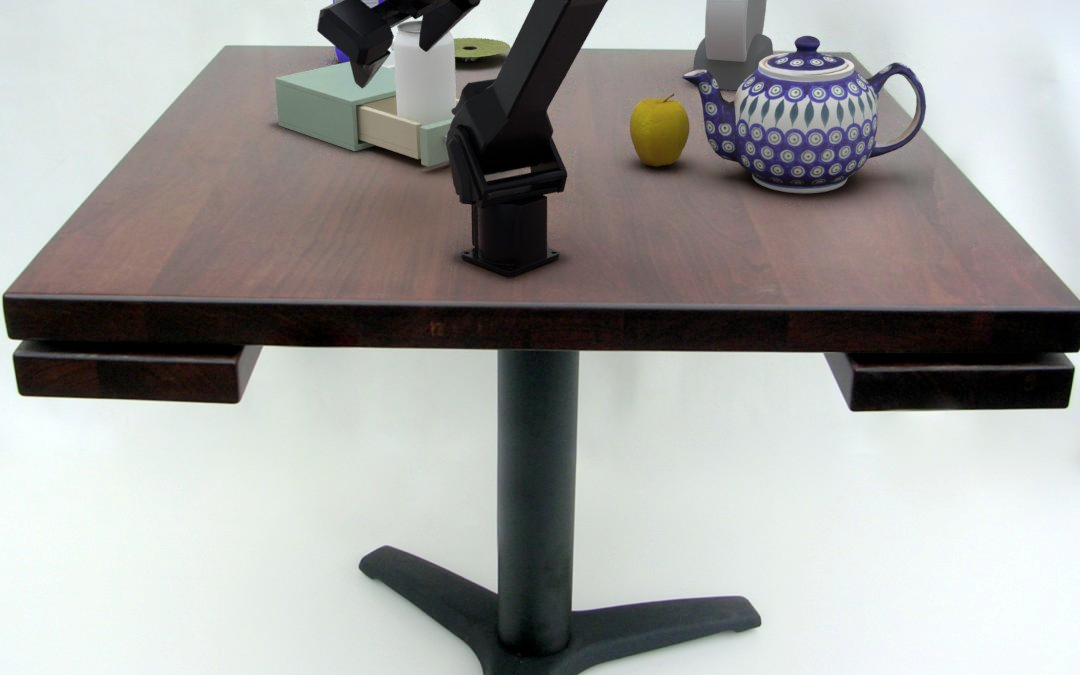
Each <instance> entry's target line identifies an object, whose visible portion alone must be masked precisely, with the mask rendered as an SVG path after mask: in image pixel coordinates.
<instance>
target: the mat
mask: <svg viewBox="0 0 1080 675" xmlns="http://www.w3.org/2000/svg"><path fill="white" fill-rule="evenodd" d="M453 39H454V49H455V58H461V60H462V61H464V62H468V61H473V62H474V61H477V60H478V58H481V57H490V56H495V55H499V54H500V55H501V54H504V53H505V52H507V51H508V50H511V45H510V44H508V42H505V41H503V40H498V39H491V38H482V37H481V38H480V37H461V38H460V37H458V38H456V37H455V38H454V37H453Z"/></svg>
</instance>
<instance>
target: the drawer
mask: <svg viewBox="0 0 1080 675" xmlns="http://www.w3.org/2000/svg"><path fill="white" fill-rule="evenodd" d="M459 99H460V98H457V97H456V105H457V104H458V102H459ZM356 117H357V134H358V140H361V141H364V142H367V143H370V144H373V145H376V146H375V147H379V148H383V149H386V150H389V151H392V152H395V153H398V154H401V155H404V156H407V157H409V158H412V159H415V160H420V163H421V166H424V167H427V168H428V167H429V168H430V167H433V166H436V165H440V164H443V163H447V162H449V157H448V152H447V146H446V141H447V134H448V131H449V129H450V125H451V122H452V120H453V118H452V119H448V120H445V121H441V122H437V123H434V124H430V125H426V126H423V127H422V124H421V123H418V122H415V121H412V120H408V119H405V118H402V117H399V116H397V101H396V96H392V97H388V98H384V99H380V100H376V101H372V102H368V103H364V104H360V105H356Z"/></svg>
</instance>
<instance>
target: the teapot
mask: <svg viewBox="0 0 1080 675" xmlns="http://www.w3.org/2000/svg"><path fill="white" fill-rule="evenodd" d="M793 43H794V46H795V48H796V51H795V52H784V53H775V54H773V55H771V56H768V57H766V58H764V59H762V60H761V61H760V62H759V67H758V68H757V69H756V71H755V72H754V73H753V74H752V75H750V76H749V77H748V78H746V79H745V80H744V81H743V83H742V84H741V85H740V87H739V88H738V90H736V92H735V95H734V97H733V100H731V101H728V100H726V99H725V98H724V97H723V94H722V92H721V89H719V85H718V84H717V82H716V80H715V79H714V77H713V75H712V74H711V73H710V72H709V71H708V70H704V69H699V70H695V71H693V70H692V71H689V72H687V73H685V74H683V75H682V77H681V78H682V79H683V80H685V81H686V82H688V83H690V84H693V85H694V86H695V85H696V86H697V87H696V86H695V87H696V88H697V90H698V92H699V96H700V100H701V107H702V115H703V116H702V117H703V123H704V130H705V132H704V133H705V135H706V139H707V142H708V144H709V145H710V147H711V148H712V150H713V151H714V153H715V154H716V155H717V156H718V157H720V158H721V159H723V160H726V161H730V162H733V163H734V162H735V163H738V164H739V165H740V166H741V167H742V168H743V169H744V170H746V171H747V172H749V173H751V176H752V179H753V180H754V181H755V182H756V183H757V184H759V185H761V186H762V187H765V188H768V189H771V190H774V191H779V192H784V193H790V194H791V193H794V194H818V193H826V192H830V191H831V192H832V191H835V190H837V189H839V188H841V187H843V186H844V185H845V184H846V182H847V181H848V178H850V177H851V176H853V175H854V174H856V173H857V172H858V171H859V170H861V168H862V167H863V166H864V165H865V164H866V163H867V161H868V160H869V159H873V158H876V157H880V156H884V155H886V154H890V153H892V152H894V151H895V152H896V151H897V150H899V149H901V148H902V147H904V146H905V145H907V144H909V143H910V142H911V141H912V140H913V139H914V138H915V137H916V136H917V134H918V133H919V131H920V130H921V128H922V126H923V123H924V121H925V117H926V112H927V111H926V110H927V102H926V101H927V100H926V93H925V89H924V86H923V84H922V83H921V81H920V79H919V77H918V76H917V74H916V73H915V72H914V71H913V70H912V68H910V67H909V66H907V65H906V64H904V63H903V62H892V63H890V64H888V65H886V66H884V67H883V68H882V69H880V70H879V71H878V72H876V73H875V74H874V75H872V76H871V77H869V78H865V77H864V76H863V75H861V74H860V73H859V72H858V71H856V70H855V64H854V63H853V62H852V61H851V60H848V59H847V58H844V57H841V56H838V55H832V54H827V53H822V52H818V51H817V50H818V49H819V48H820V46H821V41H820V39H819V38H817V37H815V36H812V35H802V36H800V37H797V38H796V39H795V40H794V42H793ZM895 75H900V76H902V77H904V79H905V80H906V81H907V82H908V83H909V84H910V86H911V88H912V90H913V92H914V94H915V100H916V102H915V103H916V104H915V112H914V116H913V118H912V121H911V122H910V124H909V125H908V126H907V128H906V129H905V130H904V131H903V132H902V133H901V134H900V135H897V137H895V138H893V139H890V140H888V141H885V142H881V141H878V140H876V138H877V131H878V120H879V119H878V118H879V117H878V116H879V114H878V113H879V112H878V100H879V98H880V97H881V94H882V91H883V89H884V87H885V85H886V83H887V81H888V80H889V78H891V77H892V76H895Z"/></svg>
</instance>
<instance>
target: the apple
mask: <svg viewBox="0 0 1080 675" xmlns="http://www.w3.org/2000/svg"><path fill="white" fill-rule="evenodd" d="M674 96H675V92H674V93H672V94H671V95H670V96H668V97H666V98H663V97H662V98H658V97H657V98H655V97H650V98H645V99H642V100H641V101H639V102H638V103H637V104H636V105H635V106H634V107H633V110H632V112H631V115H630V120H629V134H630V138H631V142H632V145H633V147H634V150H635V152H636V154H637V157H638V158H639V159H640V161H641V162H642V164H644V165H645V166H652V167H656V168H657V167H663V166H669V165H673V164H674V163H675V162H677V161H678V160H679V158H680V157H681V155H682V152H683V151H684V149H685V146H686V144H687V142H688V140H689V135H690V120H689V116H688V112H687V110H686V109H685V107H684V106H683V104H682V103H681V102H679V101H678V100H674V99H671V98H672V97H674Z"/></svg>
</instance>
